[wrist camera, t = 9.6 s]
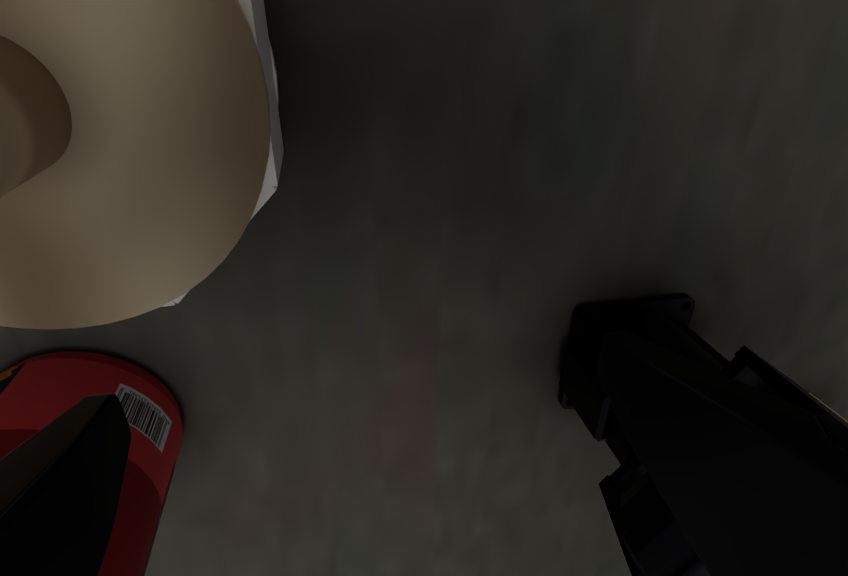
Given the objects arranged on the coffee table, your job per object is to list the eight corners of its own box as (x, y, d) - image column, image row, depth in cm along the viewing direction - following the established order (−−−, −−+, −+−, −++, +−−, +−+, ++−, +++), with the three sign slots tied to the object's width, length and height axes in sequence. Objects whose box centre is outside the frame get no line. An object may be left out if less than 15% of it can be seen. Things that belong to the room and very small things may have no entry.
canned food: (-19, 329, 20) (-322, 628, 10) (199, 361, 22) (119, 622, 13) (-15, 467, 23) (-243, 794, 13) (176, 481, 25) (98, 762, 16)
